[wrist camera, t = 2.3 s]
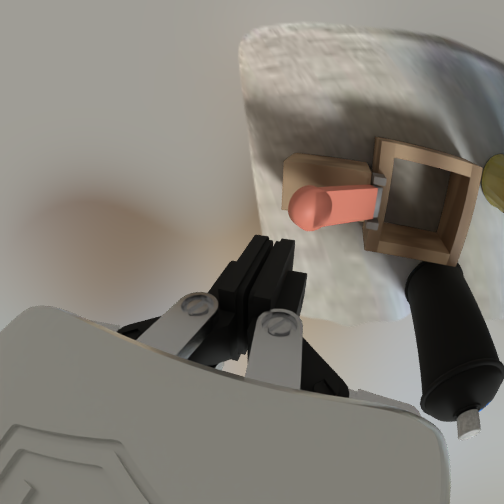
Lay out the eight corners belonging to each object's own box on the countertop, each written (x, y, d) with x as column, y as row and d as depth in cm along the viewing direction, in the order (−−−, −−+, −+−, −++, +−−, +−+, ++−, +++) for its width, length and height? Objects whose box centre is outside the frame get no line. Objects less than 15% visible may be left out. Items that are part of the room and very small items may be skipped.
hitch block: (462, 157, 20) (490, 171, 14) (442, 244, 25) (460, 275, 19) (295, 126, 25) (281, 129, 19) (290, 217, 30) (276, 243, 24)
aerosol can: (392, 298, 30) (399, 452, 14) (427, 244, 26) (482, 400, 9) (438, 318, 29) (460, 456, 12) (473, 271, 24) (530, 409, 8)
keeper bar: (377, 181, 20) (386, 185, 19) (372, 215, 22) (379, 219, 21) (289, 186, 17) (296, 190, 17) (286, 228, 19) (293, 234, 18)
